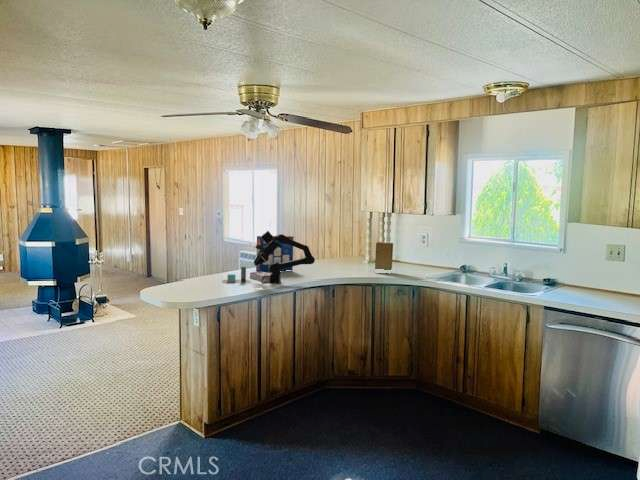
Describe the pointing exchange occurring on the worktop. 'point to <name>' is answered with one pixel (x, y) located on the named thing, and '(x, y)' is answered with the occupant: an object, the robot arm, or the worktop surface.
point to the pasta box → (276, 255)
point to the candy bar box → (261, 276)
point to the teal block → (231, 277)
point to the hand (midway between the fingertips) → (254, 264)
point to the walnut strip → (243, 277)
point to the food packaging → (384, 255)
